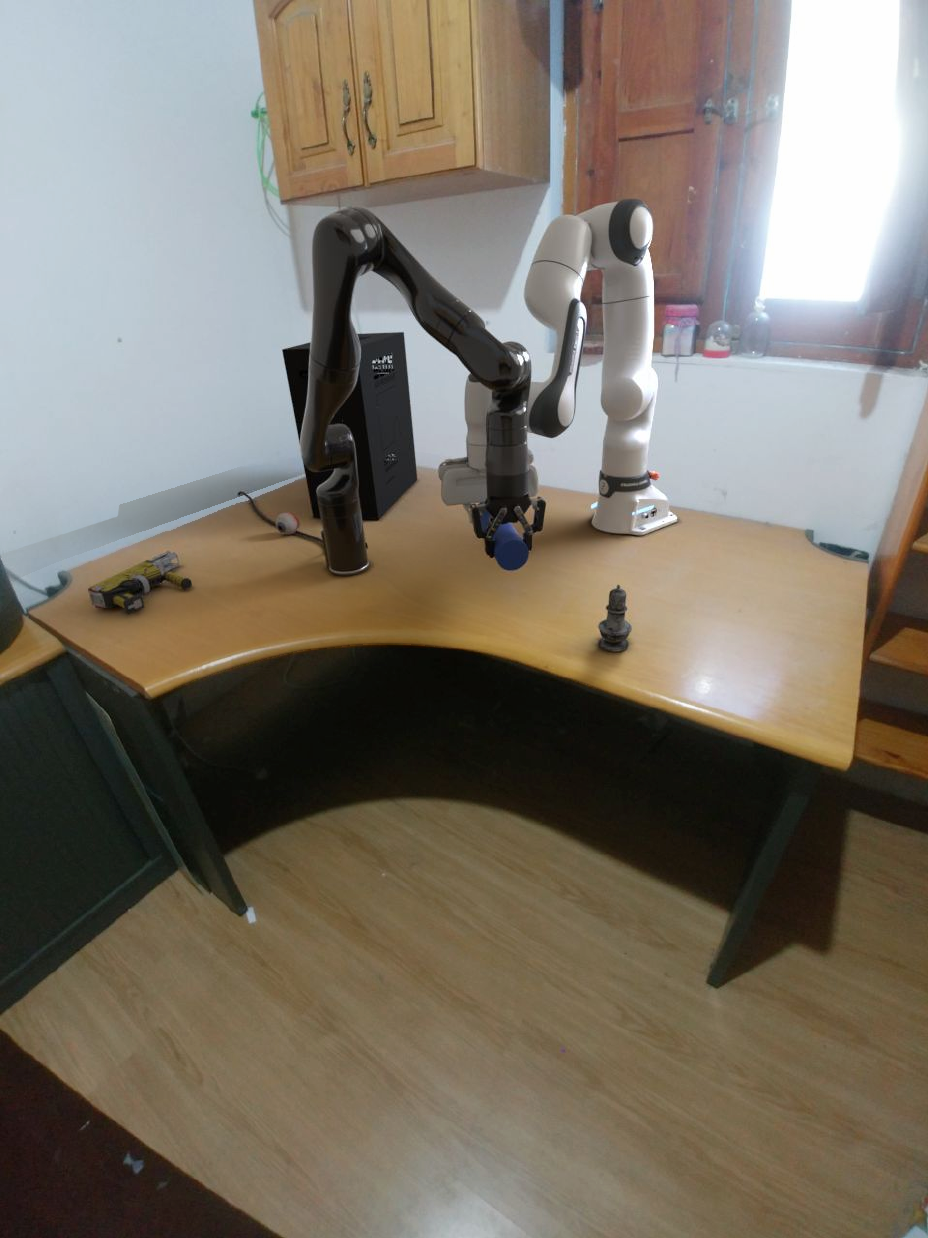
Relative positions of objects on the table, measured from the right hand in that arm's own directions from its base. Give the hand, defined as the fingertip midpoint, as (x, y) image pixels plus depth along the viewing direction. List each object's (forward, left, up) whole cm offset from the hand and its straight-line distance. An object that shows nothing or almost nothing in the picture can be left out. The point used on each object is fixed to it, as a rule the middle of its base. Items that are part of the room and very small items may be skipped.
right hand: (490, 520), depth 128 cm
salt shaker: (-7, +35, -14) cm, 38 cm away
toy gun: (+69, -34, -14) cm, 78 cm away
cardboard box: (+7, -71, -14) cm, 73 cm away
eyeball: (+36, -53, -14) cm, 65 cm away
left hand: (+4, +16, -1) cm, 17 cm away
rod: (+2, +8, -3) cm, 9 cm away
